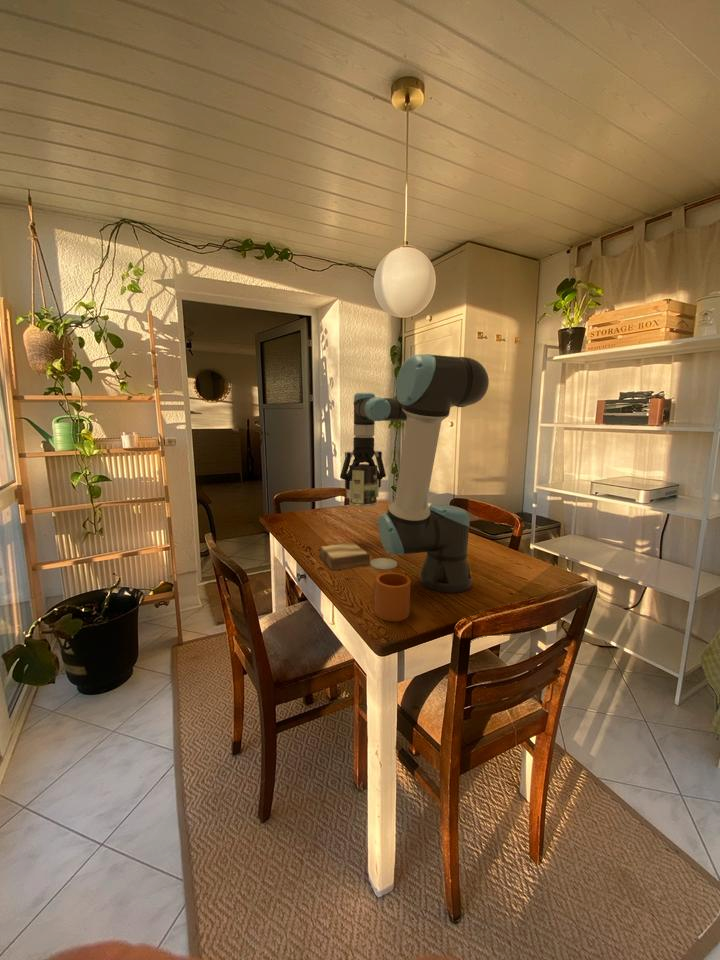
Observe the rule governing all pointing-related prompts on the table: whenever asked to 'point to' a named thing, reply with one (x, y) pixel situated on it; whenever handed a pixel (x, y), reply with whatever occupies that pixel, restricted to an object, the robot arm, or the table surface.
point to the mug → (392, 596)
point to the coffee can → (364, 485)
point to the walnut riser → (344, 556)
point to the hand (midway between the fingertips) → (362, 497)
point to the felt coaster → (383, 563)
